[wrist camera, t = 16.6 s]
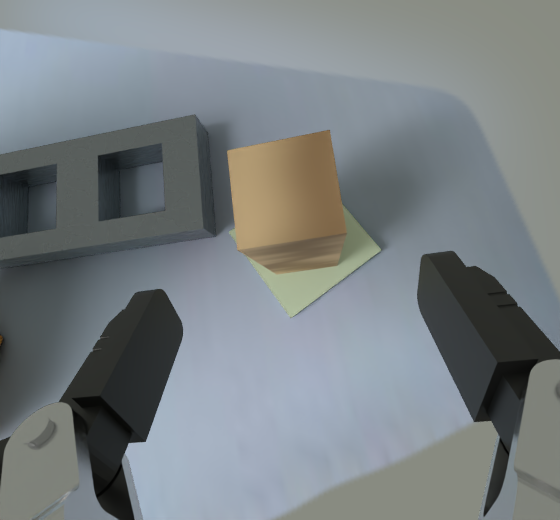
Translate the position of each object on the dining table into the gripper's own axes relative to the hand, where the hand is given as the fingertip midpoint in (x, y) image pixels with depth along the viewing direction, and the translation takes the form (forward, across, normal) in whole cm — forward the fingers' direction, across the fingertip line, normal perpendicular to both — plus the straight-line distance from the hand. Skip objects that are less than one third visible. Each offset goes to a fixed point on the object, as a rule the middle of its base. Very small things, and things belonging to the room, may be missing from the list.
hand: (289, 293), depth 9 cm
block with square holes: (+16, +17, +2) cm, 23 cm away
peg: (+12, 0, +6) cm, 13 cm away
